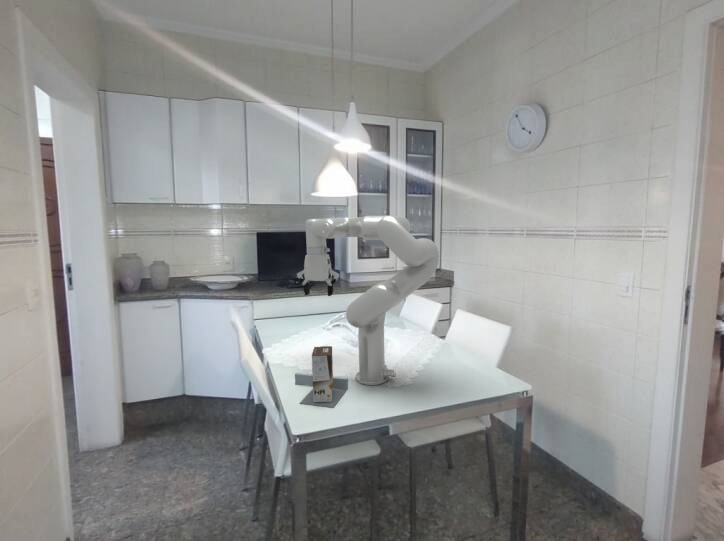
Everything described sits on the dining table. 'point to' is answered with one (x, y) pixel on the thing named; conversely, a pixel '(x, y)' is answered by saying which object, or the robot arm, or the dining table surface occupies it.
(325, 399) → the coffee box
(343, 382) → the grey flat bar
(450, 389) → the dining table surface
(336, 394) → the resting mat
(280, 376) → the dining table surface
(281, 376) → the dining table surface
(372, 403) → the dining table surface
